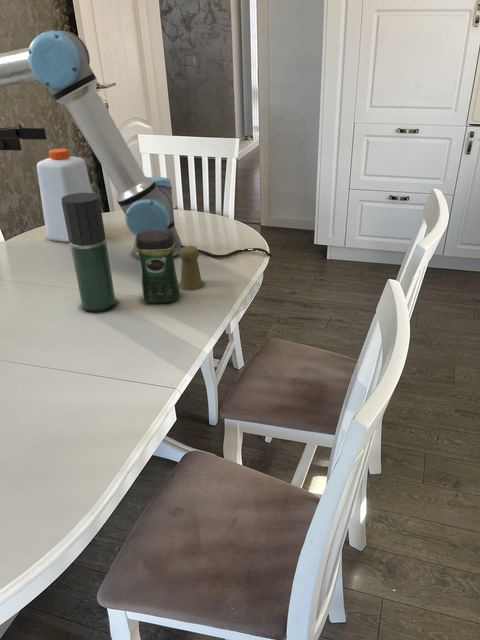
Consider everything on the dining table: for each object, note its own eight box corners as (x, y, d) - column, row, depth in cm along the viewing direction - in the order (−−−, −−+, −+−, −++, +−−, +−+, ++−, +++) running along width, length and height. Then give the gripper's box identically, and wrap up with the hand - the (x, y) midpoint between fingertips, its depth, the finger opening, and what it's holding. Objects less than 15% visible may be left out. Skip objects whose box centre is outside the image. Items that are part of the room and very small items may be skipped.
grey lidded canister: (104, 231, 136) (98, 191, 131) (105, 243, 129) (99, 201, 124) (69, 234, 134) (61, 194, 129) (68, 246, 127) (60, 204, 122)
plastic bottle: (42, 240, 182) (22, 153, 168) (68, 226, 195) (52, 144, 180) (81, 245, 178) (65, 156, 164) (105, 230, 191) (92, 146, 176)
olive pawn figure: (206, 282, 153) (204, 245, 147) (195, 291, 148) (192, 253, 143) (187, 279, 155) (184, 242, 149) (176, 287, 151) (172, 249, 145)
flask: (115, 296, 146) (102, 215, 134) (116, 310, 139) (103, 226, 127) (82, 300, 144) (66, 218, 132) (82, 314, 137) (65, 229, 125)
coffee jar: (180, 291, 148) (175, 224, 139) (178, 304, 142) (172, 235, 132) (145, 291, 148) (136, 225, 138) (140, 305, 141) (132, 236, 132)
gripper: (-18, 143, 150) (57, 144, 148) (-75, 164, 129) (11, 166, 127) (-25, 113, 146) (51, 114, 144) (-85, 130, 125) (3, 131, 123)
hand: (33, 138), depth 135 cm, fingers open, 13 cm apart
